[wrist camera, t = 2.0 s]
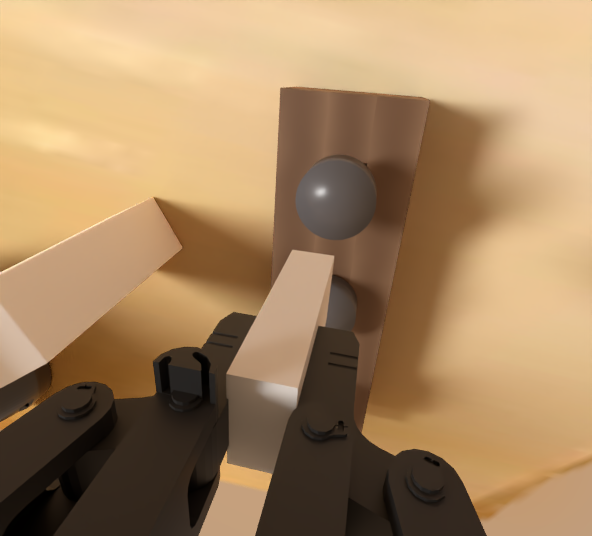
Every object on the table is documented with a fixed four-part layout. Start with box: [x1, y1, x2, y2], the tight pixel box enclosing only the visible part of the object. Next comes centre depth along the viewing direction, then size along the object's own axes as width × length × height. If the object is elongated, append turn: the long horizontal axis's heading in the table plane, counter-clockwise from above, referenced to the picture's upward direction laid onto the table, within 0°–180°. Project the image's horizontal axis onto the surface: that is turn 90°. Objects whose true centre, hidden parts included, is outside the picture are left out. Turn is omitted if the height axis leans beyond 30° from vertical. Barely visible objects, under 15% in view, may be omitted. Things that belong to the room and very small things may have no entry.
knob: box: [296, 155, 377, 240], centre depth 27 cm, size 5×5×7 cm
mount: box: [271, 87, 430, 432], centre depth 36 cm, size 10×32×6 cm, turn 176°
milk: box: [0, 197, 183, 388], centre depth 31 cm, size 6×6×22 cm
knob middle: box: [325, 275, 357, 331], centre depth 34 cm, size 5×5×7 cm
